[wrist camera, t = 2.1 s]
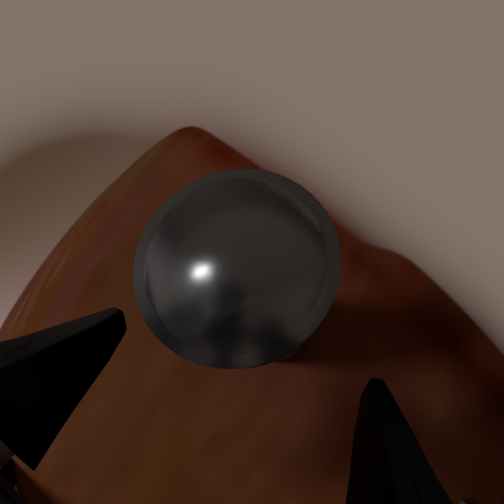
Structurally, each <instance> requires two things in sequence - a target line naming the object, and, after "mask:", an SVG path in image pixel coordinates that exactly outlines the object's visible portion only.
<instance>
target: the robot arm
mask: <svg viewBox="0 0 504 504" xmlns="http://www.w3.org/2000/svg"><path fill="white" fill-rule="evenodd" d="M125 332H126V322H125V318H124V313H123V311H121V310H119V309H117V308H110V309H107V310H104V311H100V312H97V313H94V314H91V315H88V316H85V317H82V318H79V319H76V320H72V321H69V322H66V323H63V324H60V325H57V326H54V327H51V328H47V329H44V330H41V331H38V332H35V333H31V334H28V335H25V336H21V337H18V338H14V339H10V340H5V341H1V342H0V504H29V503H28V502H27V501H26V500H25V499H24V498H23V497H22V496H21V495H20V494H19V493H18V492H17V491H16V490H15V489H14V487H15V486H16V482H15V471H14V461H13V460H12V459H11V458H12V457H13V455H14V454H15V455H16V456H17V457H18V458H19V459H20V460H22V461H23V462H24V463H25V464H26V465H27V466H28V467H30V468H31V469H32V470H33V471H34V470H35V469H36V468H37V466H38V464H39V463H40V461H41V460H42V458H43V456H44V455H45V453H46V452H47V450H48V449H49V447H50V446H51V444H52V442H53V441H54V439H55V438H56V435H58V433H59V432H60V430H61V429H62V427H63V426H64V424H65V423H66V421H67V420H68V418H69V417H70V415H71V414H72V412H73V411H74V409H75V408H76V406H77V405H78V404H79V402H80V401H81V399H82V398H83V396H84V395H85V394H86V392H87V391H88V389H89V388H90V386H91V385H92V384H93V382H94V381H95V379H96V378H97V377H98V375H99V374H100V373H101V371H102V370H103V368H104V367H105V366H106V364H107V363H108V361H109V360H110V358H111V356H112V355H113V353H114V351H115V349H116V348H117V346H118V344H119V343H120V341H121V339H122V338H123V336H124V334H125ZM346 504H453V502H452V501H451V499H450V498H449V496H448V495H447V493H446V492H445V490H444V489H443V487H442V485H441V484H440V482H439V480H438V479H437V477H436V475H435V473H434V471H433V470H432V468H431V466H430V464H429V462H428V460H427V459H426V456H425V454H424V453H423V451H422V449H421V447H420V445H419V443H418V441H417V439H416V437H415V436H414V434H413V432H412V430H411V428H410V426H409V425H408V423H407V421H406V419H405V417H404V415H403V414H402V412H401V410H400V408H399V407H398V405H397V403H396V401H395V399H394V398H393V396H392V394H391V392H390V391H389V389H388V387H387V385H386V384H385V382H384V381H383V380H382V379H377V378H371V379H370V380H369V382H368V384H367V385H366V387H365V389H364V391H363V393H362V395H361V399H360V405H359V411H358V416H357V422H356V427H355V432H354V438H353V446H352V457H351V467H350V475H349V483H348V491H347V498H346Z"/></svg>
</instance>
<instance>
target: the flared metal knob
mask: <svg viewBox="0 0 504 504" xmlns="http://www.w3.org/2000/svg"><path fill="white" fill-rule="evenodd" d="M340 271H341V252H340V245H339V240H338V236H337V233H336V230H335V228H334V225H333V223H332V221H331V219H330V217H329V215H328V214H327V212H326V210H325V209H324V208H323V206H322V205H321V204H320V202H319V201H318V200H317V199H316V198H315V197H314V196H313V195H312V194H311V193H310V192H309V191H307V190H306V189H305V188H303V187H302V186H301V185H299V184H297V183H296V182H294V181H292V180H290V179H288V178H286V177H284V176H281V175H279V174H275V173H272V172H268V171H263V170H257V169H232V170H226V171H220V172H216V173H213V174H209V175H207V176H204V177H202V178H199V179H197V180H195V181H193V182H191V183H189V184H188V185H186V186H184V187H183V188H181V189H180V190H178V191H177V192H176V193H174V194H173V195H172V196H171V197H170V198H169V199H167V200H166V201H165V202H164V204H163V205H162V206H161V207H160V208H159V209H158V210H157V211H156V213H155V214H154V215H153V217H152V218H151V220H150V221H149V223H148V225H147V226H146V228H145V230H144V232H143V234H142V237H141V239H140V242H139V245H138V248H137V251H136V256H135V262H134V274H133V277H134V290H135V295H136V299H137V303H138V306H139V308H140V311H141V314H142V316H143V317H144V319H145V321H146V323H147V325H148V326H149V328H150V329H151V330H152V332H153V333H154V335H155V336H156V337H157V338H158V339H159V340H160V341H161V342H162V343H163V344H164V345H165V346H167V347H168V348H169V349H171V350H172V351H173V352H174V353H176V354H178V355H180V356H181V357H183V358H185V359H187V360H189V361H192V362H195V363H197V364H200V365H204V366H208V367H213V368H222V369H240V368H253V367H257V366H262V365H266V364H269V363H272V362H275V361H282V360H285V359H287V358H289V357H291V356H293V355H294V354H295V353H297V352H298V351H299V349H300V348H301V347H302V345H303V344H304V343H305V342H306V341H307V340H308V339H309V338H310V337H311V336H312V335H313V333H314V332H315V331H316V329H317V328H318V327H319V326H320V324H321V322H322V321H323V319H324V317H325V315H326V314H327V312H328V310H329V308H330V306H331V305H332V302H333V300H334V297H335V294H336V292H337V288H338V284H339V279H340Z"/></svg>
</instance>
